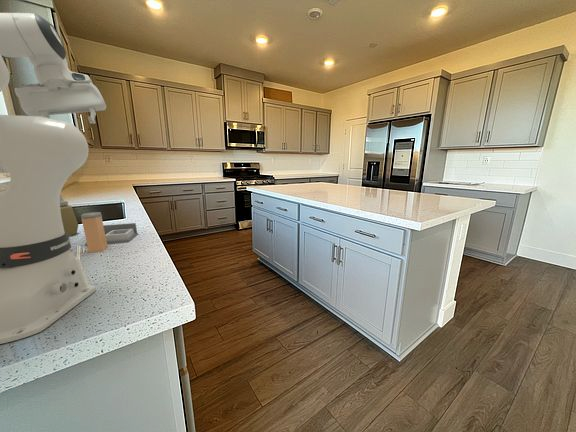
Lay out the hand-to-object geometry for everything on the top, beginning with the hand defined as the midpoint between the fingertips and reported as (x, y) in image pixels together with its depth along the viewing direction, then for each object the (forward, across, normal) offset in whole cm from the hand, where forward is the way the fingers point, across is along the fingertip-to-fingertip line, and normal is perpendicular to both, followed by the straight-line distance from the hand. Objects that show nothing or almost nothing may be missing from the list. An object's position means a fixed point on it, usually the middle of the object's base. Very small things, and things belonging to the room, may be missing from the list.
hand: (74, 124), depth 75 cm
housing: (+35, -4, +24) cm, 43 cm away
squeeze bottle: (+25, -20, +41) cm, 52 cm away
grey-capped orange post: (+38, -8, +14) cm, 41 cm away
